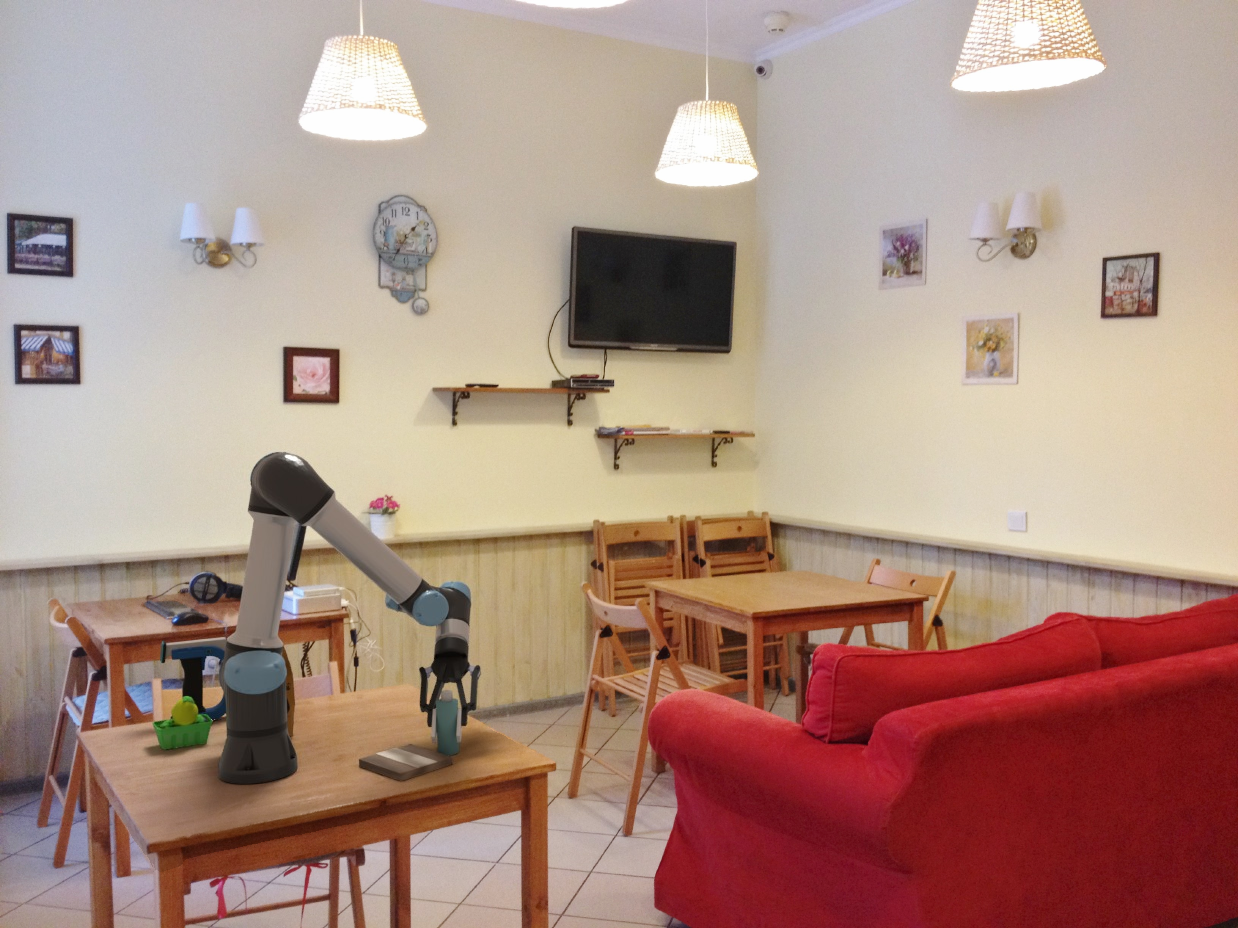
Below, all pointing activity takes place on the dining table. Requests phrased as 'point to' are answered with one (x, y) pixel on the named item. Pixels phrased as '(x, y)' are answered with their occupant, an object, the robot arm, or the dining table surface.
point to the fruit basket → (183, 726)
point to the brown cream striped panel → (405, 762)
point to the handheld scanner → (196, 669)
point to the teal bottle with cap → (447, 723)
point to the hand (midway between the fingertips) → (446, 739)
